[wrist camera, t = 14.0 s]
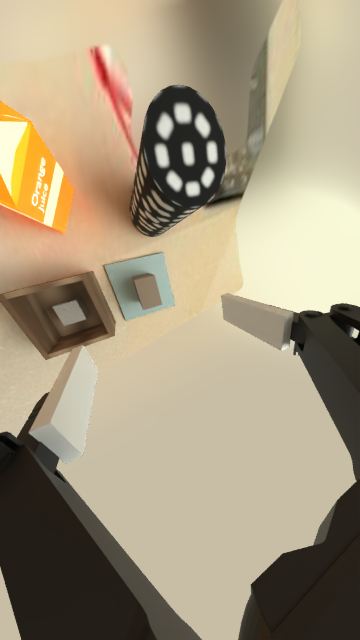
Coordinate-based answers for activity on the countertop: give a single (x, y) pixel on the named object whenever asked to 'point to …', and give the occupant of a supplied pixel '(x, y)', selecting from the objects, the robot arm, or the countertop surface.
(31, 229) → the countertop surface
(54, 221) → the orange juice
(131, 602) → the robot arm
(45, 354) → the storage box
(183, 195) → the white-spotted black cylinder
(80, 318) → the metal cube
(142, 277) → the lid
